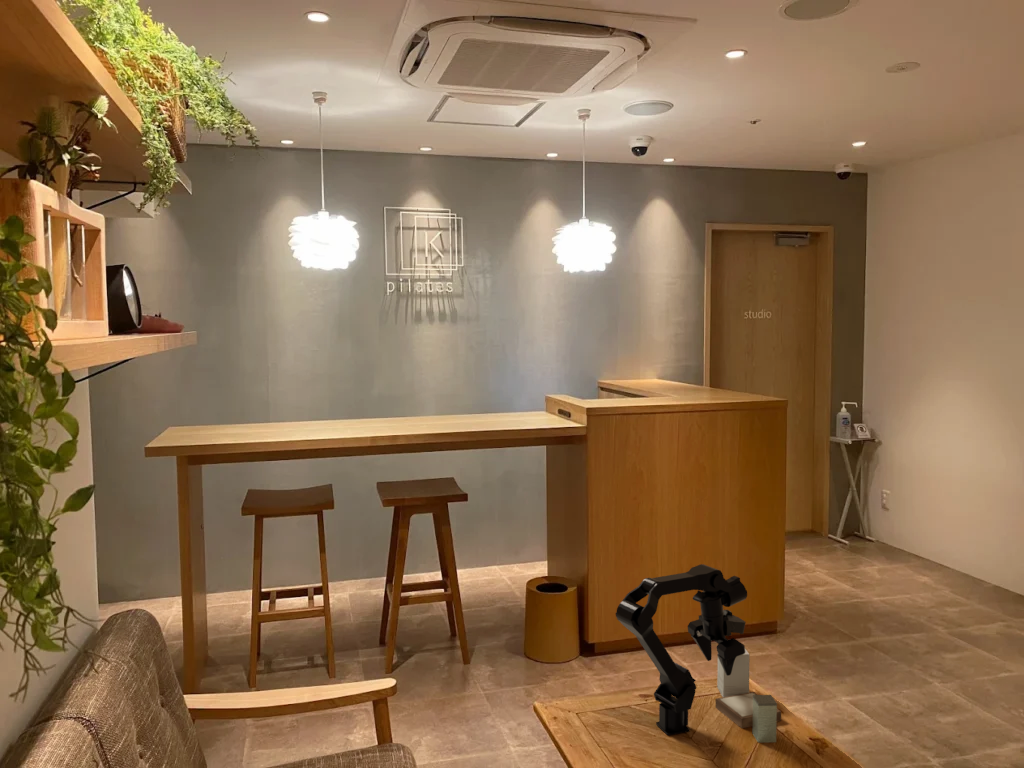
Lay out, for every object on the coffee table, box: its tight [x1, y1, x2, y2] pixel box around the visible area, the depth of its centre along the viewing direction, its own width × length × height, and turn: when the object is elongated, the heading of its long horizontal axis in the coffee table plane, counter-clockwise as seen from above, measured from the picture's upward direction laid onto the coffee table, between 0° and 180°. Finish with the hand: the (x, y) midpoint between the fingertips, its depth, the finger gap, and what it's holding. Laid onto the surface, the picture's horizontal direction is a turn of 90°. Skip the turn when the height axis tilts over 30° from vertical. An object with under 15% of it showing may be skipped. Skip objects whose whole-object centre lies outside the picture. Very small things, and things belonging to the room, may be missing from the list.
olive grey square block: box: [752, 694, 778, 743], centre depth 206 cm, size 5×5×10 cm
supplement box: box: [716, 648, 751, 698], centre depth 230 cm, size 7×7×13 cm
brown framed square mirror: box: [715, 691, 782, 729], centre depth 218 cm, size 12×12×3 cm
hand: (718, 667), depth 218 cm, fingers open, 9 cm apart
